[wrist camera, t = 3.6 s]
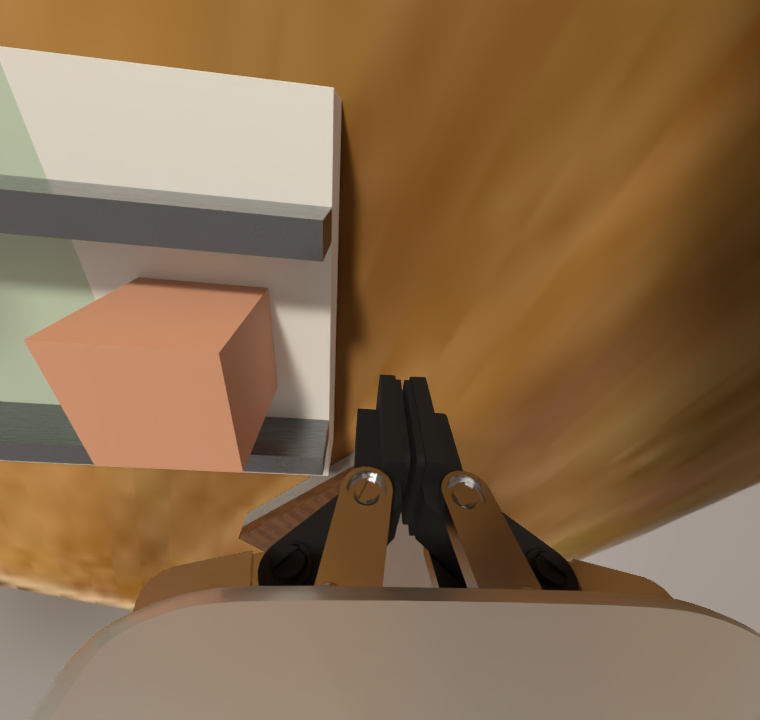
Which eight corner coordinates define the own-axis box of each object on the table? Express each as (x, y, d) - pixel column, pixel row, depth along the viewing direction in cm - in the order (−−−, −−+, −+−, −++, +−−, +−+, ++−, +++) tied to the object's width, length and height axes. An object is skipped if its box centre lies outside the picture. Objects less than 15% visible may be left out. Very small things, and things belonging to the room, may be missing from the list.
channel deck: (341, 100, 12) (333, 87, 10) (333, 438, 22) (328, 475, 19) (-425, 7, 11) (-673, -38, 8) (-70, 416, 20) (-132, 454, 18)
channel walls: (332, 207, 12) (322, 220, 9) (328, 436, 18) (322, 475, 16) (-494, 124, 10) (-727, 118, 8) (-183, 408, 16) (-266, 447, 14)
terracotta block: (268, 288, 13) (218, 353, 9) (277, 386, 16) (242, 472, 12) (138, 277, 13) (23, 339, 9) (170, 379, 15) (94, 465, 11)
